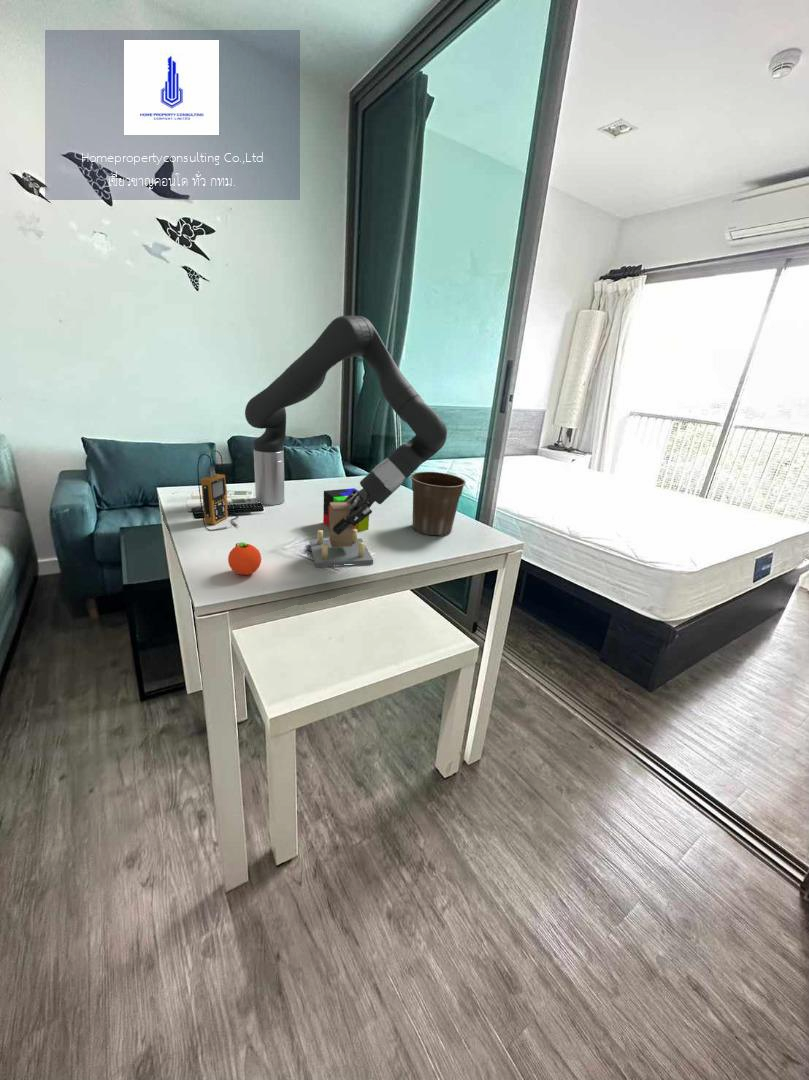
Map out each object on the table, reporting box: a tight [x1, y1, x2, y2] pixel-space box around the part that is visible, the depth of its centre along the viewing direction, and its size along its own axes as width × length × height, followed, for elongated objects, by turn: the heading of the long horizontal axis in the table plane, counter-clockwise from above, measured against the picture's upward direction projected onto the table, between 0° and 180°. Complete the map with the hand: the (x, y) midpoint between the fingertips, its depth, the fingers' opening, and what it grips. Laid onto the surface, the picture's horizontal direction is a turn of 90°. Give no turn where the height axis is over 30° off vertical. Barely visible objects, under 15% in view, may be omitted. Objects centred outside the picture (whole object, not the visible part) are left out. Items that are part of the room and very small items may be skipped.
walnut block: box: [328, 502, 353, 547], centre depth 109 cm, size 5×5×10 cm
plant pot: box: [410, 471, 467, 536], centre depth 131 cm, size 16×16×16 cm
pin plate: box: [308, 529, 374, 568], centre depth 111 cm, size 14×14×5 cm
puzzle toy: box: [322, 487, 370, 532], centre depth 129 cm, size 10×10×10 cm
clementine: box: [227, 542, 262, 576], centre depth 97 cm, size 8×7×7 cm
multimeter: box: [196, 450, 240, 531], centre depth 121 cm, size 15×10×20 cm
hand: (333, 527), depth 108 cm, fingers closed on walnut block, 5 cm apart
